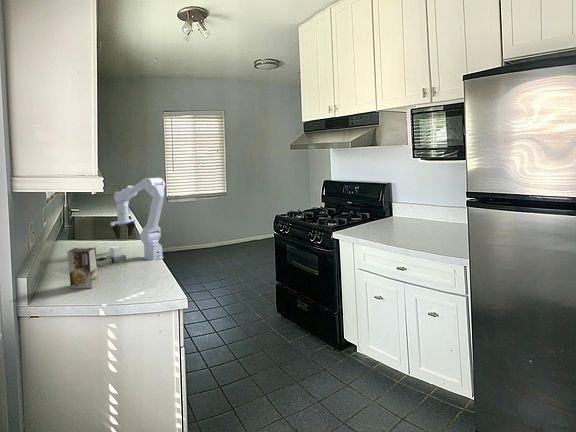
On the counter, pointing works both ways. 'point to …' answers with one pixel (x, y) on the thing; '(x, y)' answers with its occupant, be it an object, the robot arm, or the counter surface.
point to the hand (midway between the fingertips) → (124, 236)
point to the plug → (115, 251)
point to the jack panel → (109, 260)
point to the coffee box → (82, 267)
